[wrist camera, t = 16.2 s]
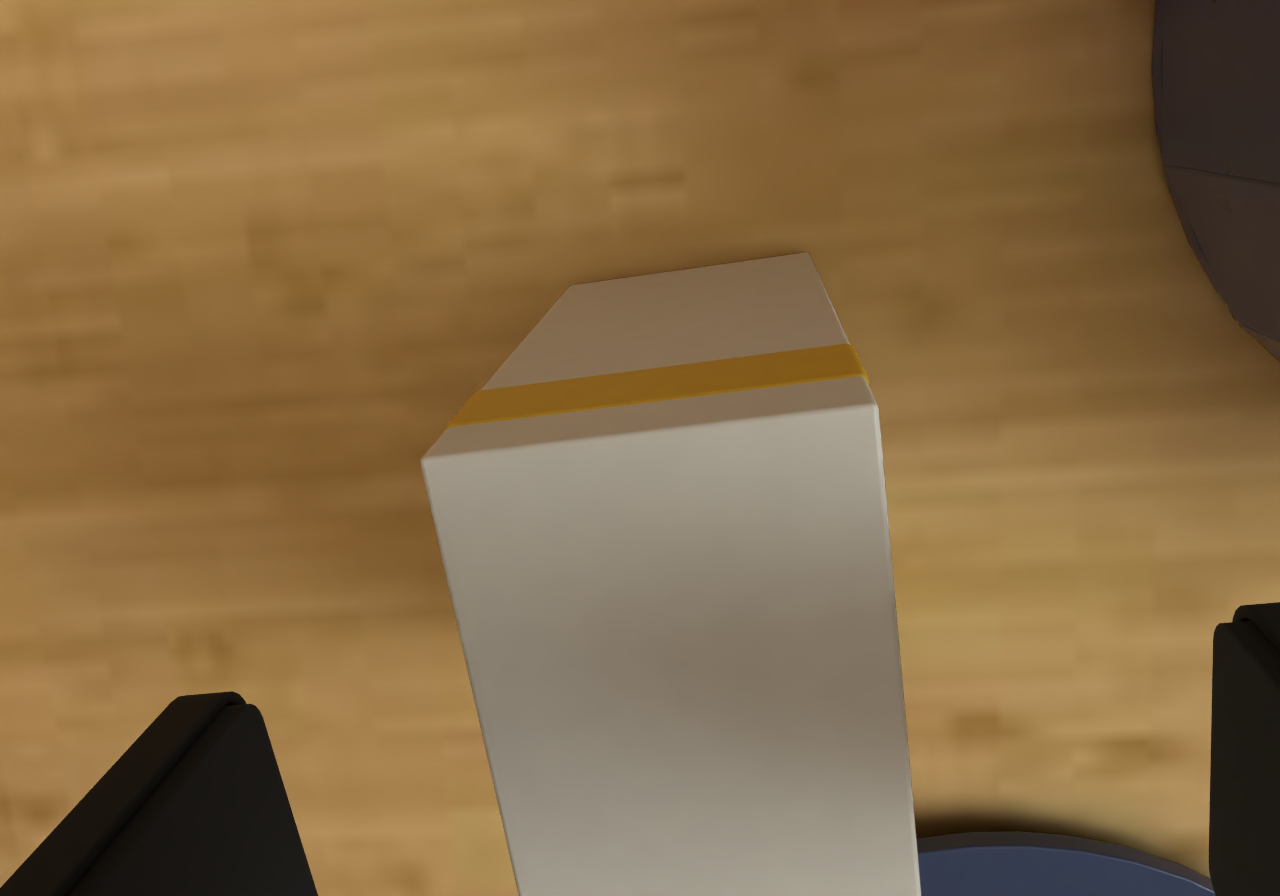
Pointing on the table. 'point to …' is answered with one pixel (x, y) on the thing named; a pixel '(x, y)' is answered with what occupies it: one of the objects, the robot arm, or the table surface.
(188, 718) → the robot arm
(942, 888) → the tin lid
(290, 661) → the table surface
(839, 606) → the packet
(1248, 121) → the tin
